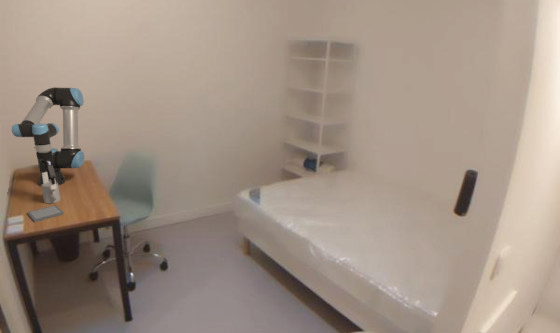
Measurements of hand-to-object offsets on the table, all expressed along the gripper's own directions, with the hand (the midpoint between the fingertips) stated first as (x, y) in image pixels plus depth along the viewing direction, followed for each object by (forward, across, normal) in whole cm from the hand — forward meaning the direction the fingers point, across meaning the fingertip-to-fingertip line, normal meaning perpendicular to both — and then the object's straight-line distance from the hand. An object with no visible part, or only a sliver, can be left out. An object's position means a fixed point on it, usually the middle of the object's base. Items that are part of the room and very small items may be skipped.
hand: (49, 185), depth 205 cm
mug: (+11, 0, 0) cm, 11 cm away
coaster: (+11, +15, -8) cm, 20 cm away
